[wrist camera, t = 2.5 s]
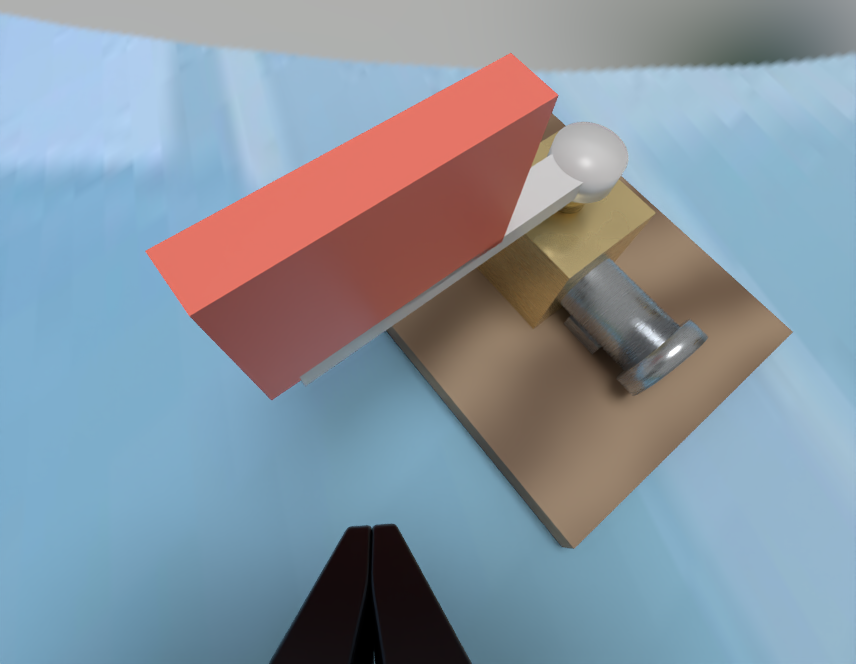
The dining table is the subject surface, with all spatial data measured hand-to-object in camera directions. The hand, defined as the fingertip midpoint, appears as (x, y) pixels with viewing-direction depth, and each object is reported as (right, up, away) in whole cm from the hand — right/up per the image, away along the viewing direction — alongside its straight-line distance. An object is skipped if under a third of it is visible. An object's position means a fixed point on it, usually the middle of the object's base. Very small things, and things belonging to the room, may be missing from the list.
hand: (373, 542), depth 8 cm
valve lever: (+2, +6, +9) cm, 11 cm away
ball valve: (+6, +7, +16) cm, 19 cm away
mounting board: (+6, +7, +18) cm, 20 cm away
